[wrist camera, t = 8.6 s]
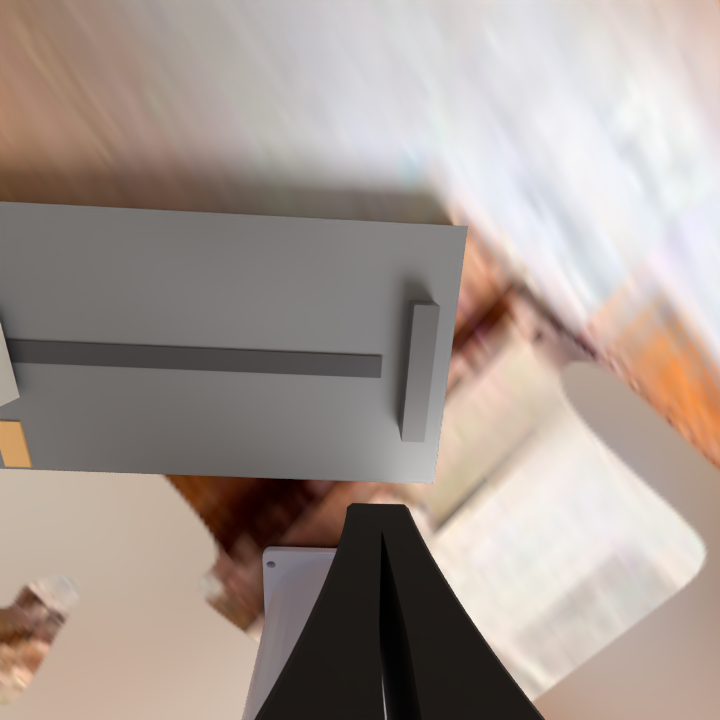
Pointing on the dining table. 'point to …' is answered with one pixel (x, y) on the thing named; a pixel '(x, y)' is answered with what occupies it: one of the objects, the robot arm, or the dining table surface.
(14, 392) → the fader knob
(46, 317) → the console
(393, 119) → the dining table surface
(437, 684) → the robot arm
